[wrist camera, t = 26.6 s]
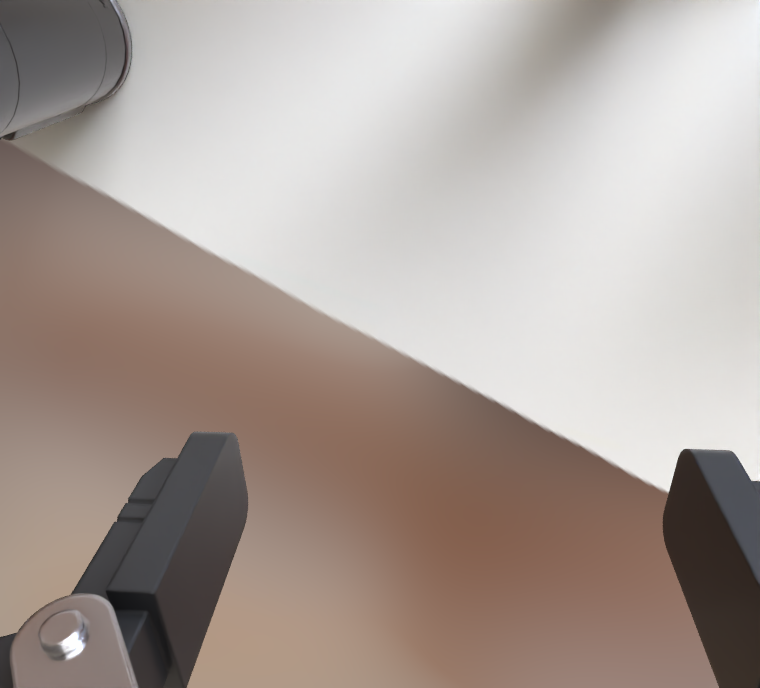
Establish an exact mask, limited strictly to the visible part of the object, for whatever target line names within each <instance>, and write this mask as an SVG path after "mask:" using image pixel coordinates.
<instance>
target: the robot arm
mask: <svg viewBox="0 0 760 688" xmlns="http://www.w3.org/2000/svg"><path fill="white" fill-rule="evenodd" d="M131 57H132V43H131V36H130V31H129V27H128V24H127V21H126V18H125V16H124V13H123V11H122V9H121V7H120V6H119V4H118V2H117V1H116V0H0V139H1V138H3V139H5V140H15V139H17V138H20V137H22V136H25V135H27V134H30V133H32V132H35V131H37V130H40V129H42V128H45V127H47V126H50V125H52V124H55V123H57V122H60V121H62V120H65V119H67V118H70V117H72V116H75V115H77V114H80V113H82V112H83V110H84V108H85V106H86V105H89V104H93V103H97V102H99V101H102V100H104V99H106V98H108V97H110V96H111V95H112V94H114V93H115V92H116V91H117V90H118V89H119V88H120V86H121V85H122V84H123V82H124V80H125V79H126V76H127V74H128V71H129V68H130V64H131ZM247 511H248V493H247V488H246V482H245V477H244V471H243V466H242V460H241V455H240V449H239V444H238V439H237V437H236V435H235V434H234V433H223V432H193V433H192V434H191V435H190V437H189V438H188V440H187V442H186V444H185V446H184V447H183V449H182V451H181V453H180V455H179V457H178V458H163V459H162V460H161V461H160V462H158V463H157V464H156V465H155V466H154V467H152V468H151V469H150V470H149V471H148V472H147V473H145V474H144V475H143V476H142V477H141V479H140V480H139V482H138V483H137V485H136V487H135V489H134V490H133V492H132V493H131V495H130V497H129V498H128V503H126V504H125V505H124V507H123V509H122V510H121V512H120V514H119V515H118V517H117V518H118V519H117V522H114V524H113V525H112V527H111V529H110V530H109V532H108V534H107V535H106V537H105V539H104V540H103V542H102V544H101V545H100V547H99V549H98V550H97V552H96V554H95V555H94V557H93V559H92V560H91V562H90V564H89V565H88V567H87V569H86V571H85V572H84V574H83V575H82V577H81V579H80V580H79V582H78V584H77V586H76V587H75V589H74V591H73V592H72V593H71V595H69V596H65V597H63V598H59V599H57V600H55V601H53V602H51V603H49V604H47V605H45V606H44V607H42V608H41V609H39V610H38V611H37V612H36V613H34V614H33V615H32V616H31V617H30V618H29V619H28V620H27V621H26V622H25V623H24V624H23V625H22V627H21V628H20V629H19V631H18V632H17V633H14V634H11V635H7V636H3V637H0V688H187V685H188V682H189V679H190V676H191V674H192V671H193V668H194V665H195V663H196V660H197V657H198V654H199V652H200V649H201V646H202V643H203V640H204V638H205V635H206V632H207V629H208V626H209V624H210V621H211V618H212V616H213V613H214V610H215V607H216V604H217V602H218V599H219V596H220V593H221V590H222V588H223V585H224V582H225V579H226V577H227V574H228V571H229V568H230V566H231V562H232V560H233V557H234V554H235V552H236V549H237V546H238V543H239V541H240V538H241V535H242V532H243V529H244V526H245V523H246V518H247ZM663 535H664V541H665V545H666V548H667V551H668V554H669V556H670V559H671V562H672V564H673V567H674V570H675V572H676V575H677V578H678V580H679V583H680V585H681V588H682V591H683V593H684V596H685V598H686V601H687V604H688V607H689V609H690V612H691V614H692V617H693V620H694V622H695V625H696V628H697V630H698V633H699V636H700V638H701V641H702V643H703V646H704V648H705V651H706V654H707V656H708V659H709V662H710V665H711V667H712V669H713V672H714V675H715V677H716V680H717V683H718V686H719V688H760V481H751V480H750V478H749V476H748V475H747V473H746V471H745V469H744V468H743V466H742V464H741V463H740V461H739V459H738V458H737V456H736V455H735V454H734V453H733V452H732V451H729V450H701V449H684V450H683V451H682V452H681V453H680V455H679V458H678V461H677V465H676V469H675V472H674V476H673V480H672V483H671V487H670V491H669V495H668V498H667V502H666V506H665V510H664V515H663Z"/></svg>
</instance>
